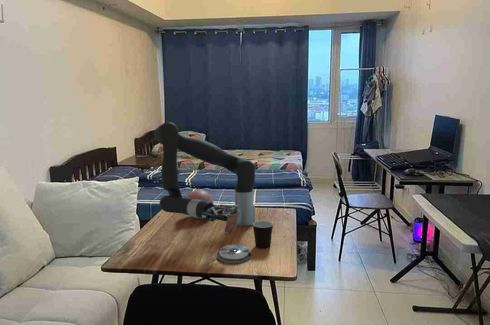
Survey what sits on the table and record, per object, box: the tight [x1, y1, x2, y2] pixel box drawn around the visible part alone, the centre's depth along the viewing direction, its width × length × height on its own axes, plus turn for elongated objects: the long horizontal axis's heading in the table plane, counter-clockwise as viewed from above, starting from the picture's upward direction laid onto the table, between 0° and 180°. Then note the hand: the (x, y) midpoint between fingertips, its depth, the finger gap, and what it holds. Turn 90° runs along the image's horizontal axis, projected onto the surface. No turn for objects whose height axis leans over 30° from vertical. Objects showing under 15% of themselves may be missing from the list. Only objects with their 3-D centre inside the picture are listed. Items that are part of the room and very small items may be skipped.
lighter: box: [224, 204, 240, 234], centre depth 149 cm, size 8×3×10 cm, turn 158°
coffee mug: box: [252, 220, 274, 250], centre depth 164 cm, size 12×9×10 cm
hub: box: [216, 244, 252, 265], centre depth 153 cm, size 14×14×3 cm
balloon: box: [186, 189, 214, 220], centre depth 199 cm, size 15×20×15 cm
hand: (232, 215), depth 149 cm, fingers closed on lighter, 8 cm apart
